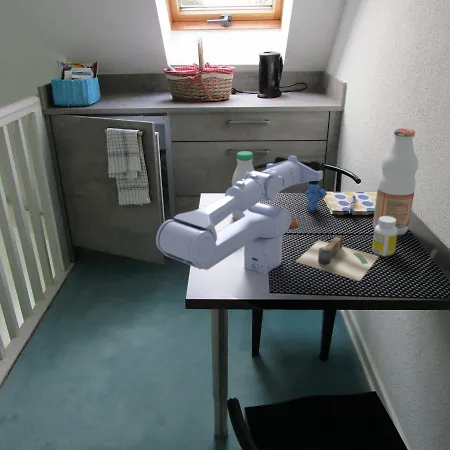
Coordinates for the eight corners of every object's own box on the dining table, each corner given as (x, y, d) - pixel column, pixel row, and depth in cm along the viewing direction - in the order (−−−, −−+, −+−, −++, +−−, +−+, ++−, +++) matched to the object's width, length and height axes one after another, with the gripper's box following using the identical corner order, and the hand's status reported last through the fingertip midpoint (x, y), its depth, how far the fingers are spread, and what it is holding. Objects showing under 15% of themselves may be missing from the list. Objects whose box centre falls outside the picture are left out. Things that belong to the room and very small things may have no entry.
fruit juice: (365, 226, 126) (377, 129, 114) (388, 219, 130) (402, 124, 118) (391, 239, 118) (407, 136, 107) (415, 231, 123) (433, 131, 111)
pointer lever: (327, 265, 104) (328, 252, 103) (315, 262, 106) (316, 249, 104) (344, 247, 112) (345, 235, 111) (333, 244, 114) (334, 232, 112)
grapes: (326, 219, 131) (330, 181, 126) (303, 218, 132) (306, 180, 127) (324, 204, 141) (327, 168, 136) (303, 203, 142) (305, 168, 137)
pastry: (303, 227, 127) (303, 215, 126) (288, 235, 123) (289, 222, 121) (277, 218, 133) (277, 206, 132) (263, 225, 129) (263, 213, 127)
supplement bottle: (393, 250, 113) (398, 215, 109) (394, 260, 108) (400, 224, 104) (371, 248, 114) (375, 213, 110) (371, 258, 110) (376, 222, 105)
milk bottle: (229, 213, 136) (227, 150, 128) (252, 210, 138) (252, 148, 130) (237, 223, 130) (236, 157, 121) (261, 219, 132) (262, 155, 123)
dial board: (359, 284, 99) (359, 280, 98) (295, 265, 107) (295, 261, 107) (378, 259, 109) (379, 256, 108) (318, 243, 117) (318, 239, 117)
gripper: (310, 163, 98) (336, 152, 108) (256, 156, 106) (285, 146, 116) (309, 194, 100) (334, 180, 110) (256, 184, 109) (284, 172, 119)
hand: (309, 165), depth 113 cm, fingers open, 7 cm apart
